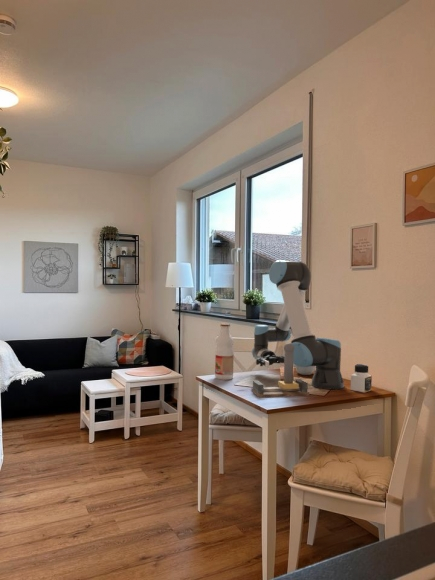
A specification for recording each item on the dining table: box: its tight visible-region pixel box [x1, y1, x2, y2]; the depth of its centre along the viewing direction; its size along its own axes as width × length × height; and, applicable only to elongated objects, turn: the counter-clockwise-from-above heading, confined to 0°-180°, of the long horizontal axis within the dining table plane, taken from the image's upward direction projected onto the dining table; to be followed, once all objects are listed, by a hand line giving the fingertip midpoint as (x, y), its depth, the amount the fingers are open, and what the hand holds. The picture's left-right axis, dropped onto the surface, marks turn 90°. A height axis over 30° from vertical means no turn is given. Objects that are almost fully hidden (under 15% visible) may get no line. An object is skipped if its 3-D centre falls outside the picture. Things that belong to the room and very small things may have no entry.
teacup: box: [295, 366, 316, 376], centre depth 238 cm, size 14×11×8 cm
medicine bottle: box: [350, 363, 373, 394], centre depth 201 cm, size 7×7×12 cm
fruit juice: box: [214, 323, 235, 381], centre depth 221 cm, size 9×9×28 cm
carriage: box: [277, 342, 299, 389], centre depth 193 cm, size 7×7×20 cm
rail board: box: [250, 378, 310, 398], centre depth 192 cm, size 23×12×5 cm, turn 103°
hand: (281, 364), depth 202 cm, fingers open, 13 cm apart
